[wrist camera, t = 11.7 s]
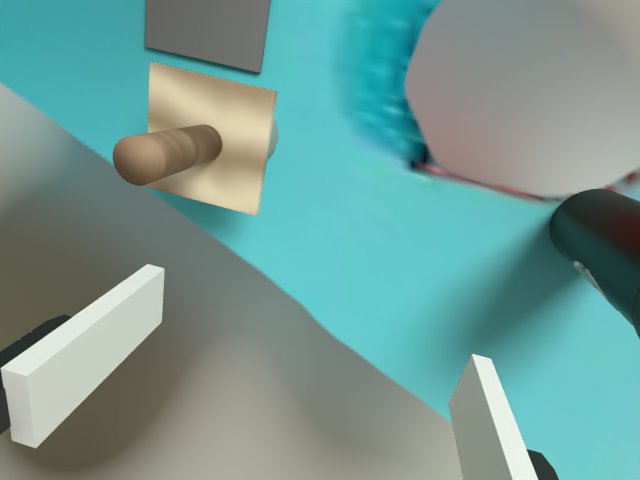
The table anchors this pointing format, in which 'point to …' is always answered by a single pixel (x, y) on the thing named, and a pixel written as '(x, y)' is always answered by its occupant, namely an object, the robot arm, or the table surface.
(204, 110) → the lid
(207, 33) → the mat
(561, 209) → the water bottle
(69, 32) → the table surface
